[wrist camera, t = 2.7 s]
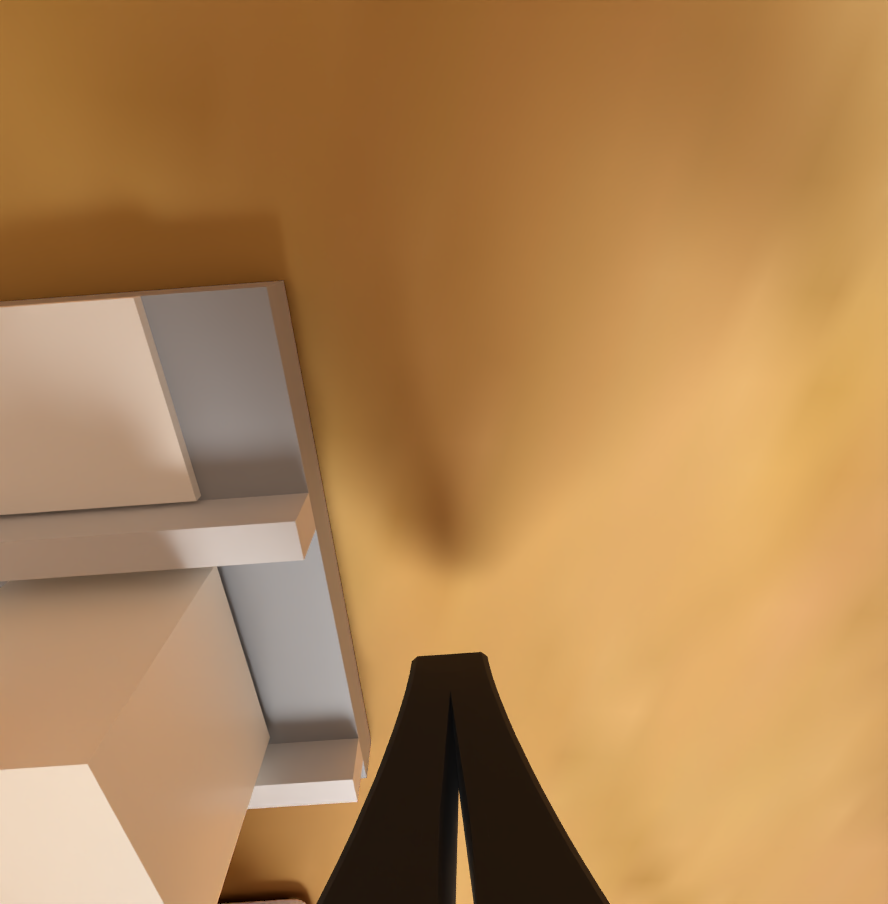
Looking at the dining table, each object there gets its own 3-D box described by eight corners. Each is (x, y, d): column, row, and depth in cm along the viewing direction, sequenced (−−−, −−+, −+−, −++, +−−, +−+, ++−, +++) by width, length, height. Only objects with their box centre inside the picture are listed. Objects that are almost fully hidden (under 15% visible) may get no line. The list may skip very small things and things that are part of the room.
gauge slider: (269, 737, 12) (195, 973, 8) (101, 749, 12) (-52, 989, 8) (175, 435, 9) (-19, 594, 5) (-54, 452, 9) (-419, 622, 5)
